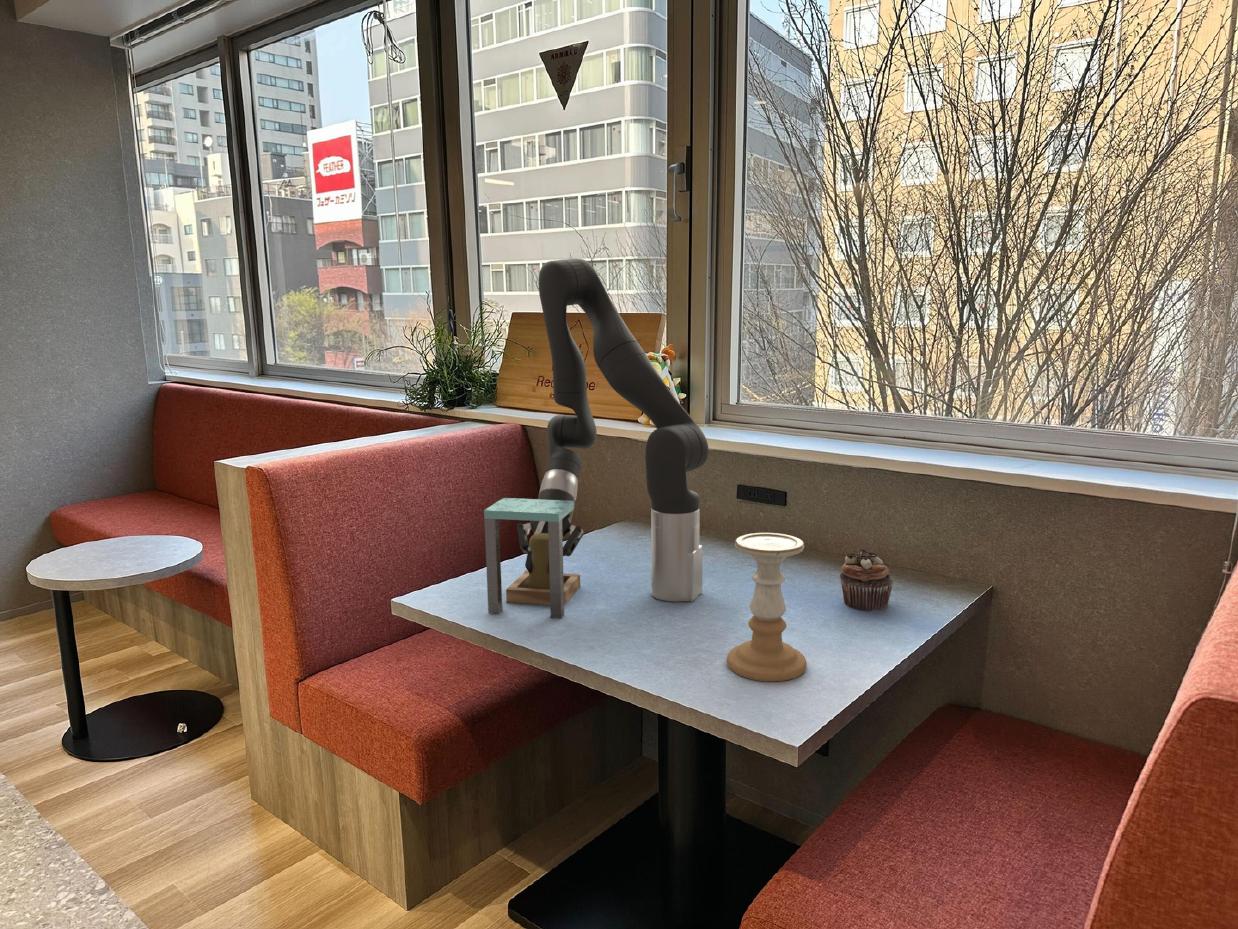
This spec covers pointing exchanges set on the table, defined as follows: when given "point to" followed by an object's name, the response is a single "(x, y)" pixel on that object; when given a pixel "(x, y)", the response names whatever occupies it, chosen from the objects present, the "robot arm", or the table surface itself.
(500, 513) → the mint green stool
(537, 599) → the socket
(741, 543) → the candle holder
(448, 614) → the table surface
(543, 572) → the cork
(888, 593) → the cupcake
